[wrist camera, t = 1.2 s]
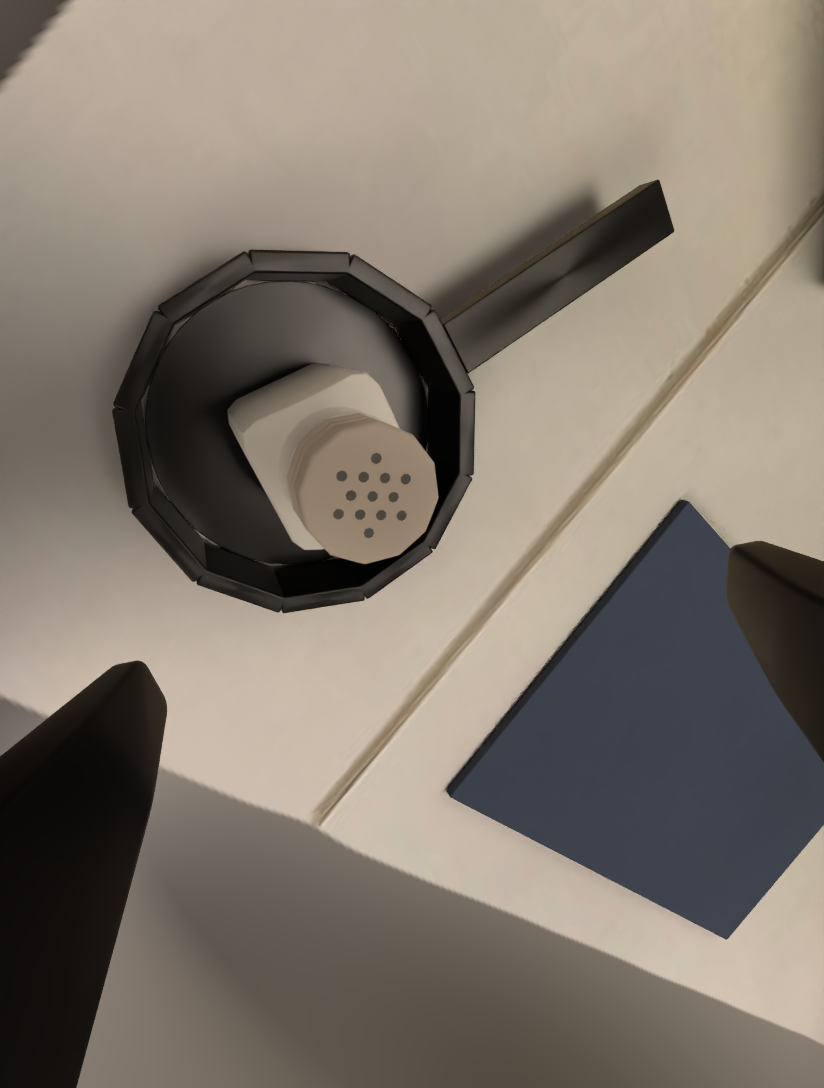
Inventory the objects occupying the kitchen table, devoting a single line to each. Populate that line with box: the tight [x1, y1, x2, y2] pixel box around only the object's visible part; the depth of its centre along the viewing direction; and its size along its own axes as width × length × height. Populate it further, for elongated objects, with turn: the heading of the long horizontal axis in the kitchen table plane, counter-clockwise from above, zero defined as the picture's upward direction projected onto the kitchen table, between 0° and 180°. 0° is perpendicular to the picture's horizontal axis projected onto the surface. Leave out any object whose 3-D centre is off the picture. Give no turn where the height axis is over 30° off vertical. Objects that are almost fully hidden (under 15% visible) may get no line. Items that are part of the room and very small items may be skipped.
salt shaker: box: [227, 363, 439, 564], centre depth 18 cm, size 4×4×10 cm
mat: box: [447, 500, 824, 940], centre depth 36 cm, size 28×18×1 cm, turn 49°
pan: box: [112, 180, 674, 613], centre depth 21 cm, size 20×11×3 cm, turn 121°
